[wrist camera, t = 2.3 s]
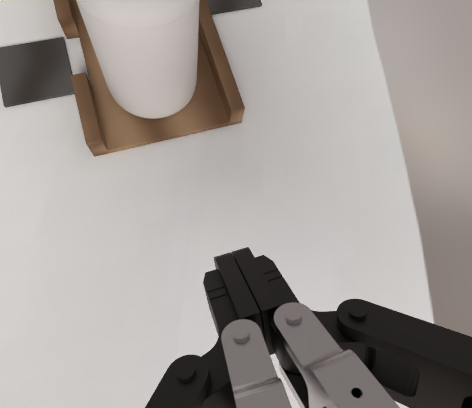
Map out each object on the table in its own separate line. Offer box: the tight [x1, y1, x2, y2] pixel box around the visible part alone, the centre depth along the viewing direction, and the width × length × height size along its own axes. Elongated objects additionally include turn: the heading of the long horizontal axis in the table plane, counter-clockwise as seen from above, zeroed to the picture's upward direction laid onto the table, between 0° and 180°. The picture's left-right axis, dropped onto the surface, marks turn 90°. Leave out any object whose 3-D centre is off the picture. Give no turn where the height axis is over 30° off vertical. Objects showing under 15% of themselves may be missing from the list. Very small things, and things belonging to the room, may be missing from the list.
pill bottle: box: [76, 0, 199, 119], centre depth 26 cm, size 8×8×15 cm
